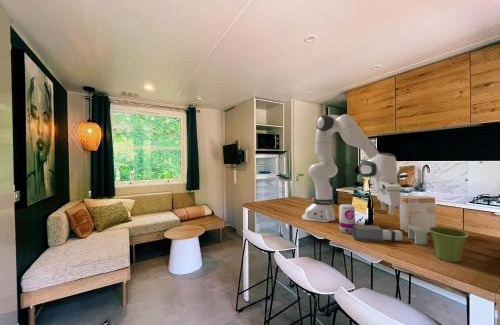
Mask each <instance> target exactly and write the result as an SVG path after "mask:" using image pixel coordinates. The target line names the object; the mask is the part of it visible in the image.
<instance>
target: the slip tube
mask: <svg viewBox="0 0 500 325" xmlns="http://www.w3.org/2000/svg"><path fill="white" fill-rule="evenodd" d="M381 229H382V230H383V241H392V242H396V241H398V242H403V232H402V231H401V230H399V229H392V228H390V227H389V228H387V229H383V228H381Z"/></svg>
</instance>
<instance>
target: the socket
mask: <svg viewBox="0 0 500 325" xmlns="http://www.w3.org/2000/svg"><path fill="white" fill-rule="evenodd" d="M407 234H408V235H407V236H408V237H407V238H408V239H409V240H414V244H415V245H427V246H428V245H429V233H428V231H426V230H425V229H423V228H421V227H420V226H408V233H407Z"/></svg>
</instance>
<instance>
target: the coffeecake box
mask: <svg viewBox="0 0 500 325" xmlns="http://www.w3.org/2000/svg"><path fill="white" fill-rule="evenodd" d="M436 220H437V219H436V197H435V196H430V195H427V194H426V195H400V206H399V227H400V231H401V230H402V231H403V232H405V233H407V234H408V226H420V227H421V228H423V229H425V230H426V231H428V234H429V233H430V234H431V231H430V230H429V228H430V227H437V224H436Z"/></svg>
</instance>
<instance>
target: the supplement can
mask: <svg viewBox="0 0 500 325" xmlns="http://www.w3.org/2000/svg"><path fill="white" fill-rule="evenodd" d="M355 212H356V209H355V206H354V205H353V204H348V203H341V204H340V205H339V206H338V222H339V223H338V225H339V226H338V228H339V230H340V232H341V233H343V234H352V225H356V213H355Z"/></svg>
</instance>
